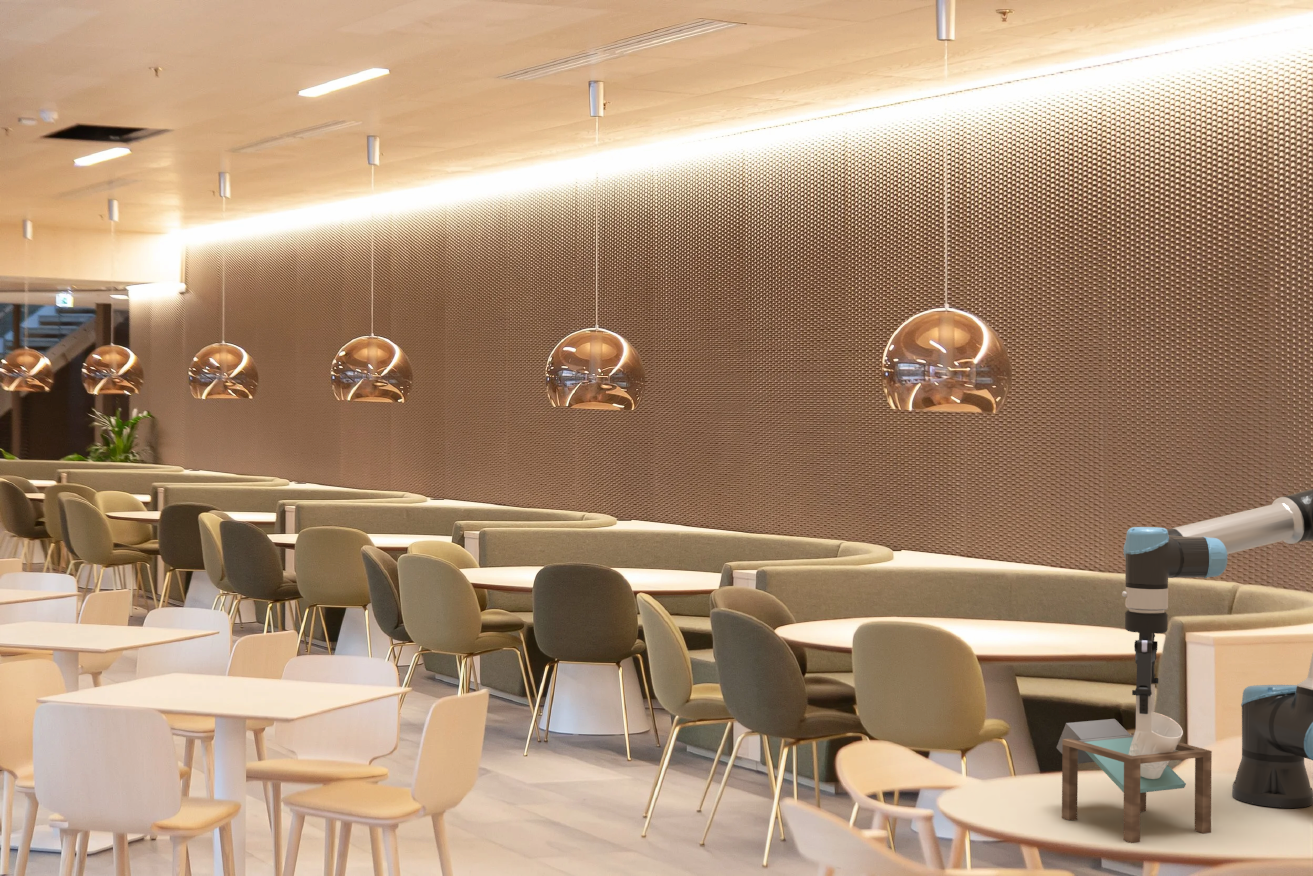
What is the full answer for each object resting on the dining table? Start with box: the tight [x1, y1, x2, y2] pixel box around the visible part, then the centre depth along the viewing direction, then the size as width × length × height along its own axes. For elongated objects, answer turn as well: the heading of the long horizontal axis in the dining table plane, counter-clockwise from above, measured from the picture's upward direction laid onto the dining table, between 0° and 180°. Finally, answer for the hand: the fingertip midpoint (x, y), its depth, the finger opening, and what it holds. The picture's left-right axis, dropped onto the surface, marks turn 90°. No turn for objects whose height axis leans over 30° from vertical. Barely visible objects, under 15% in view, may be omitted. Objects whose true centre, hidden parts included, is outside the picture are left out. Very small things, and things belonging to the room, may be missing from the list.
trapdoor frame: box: [1061, 732, 1213, 844], centre depth 275 cm, size 19×19×15 cm
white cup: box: [1128, 712, 1184, 779], centre depth 273 cm, size 8×8×10 cm
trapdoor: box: [1056, 718, 1187, 794], centre depth 280 cm, size 14×20×7 cm
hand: (1145, 725), depth 273 cm, fingers open, 13 cm apart
